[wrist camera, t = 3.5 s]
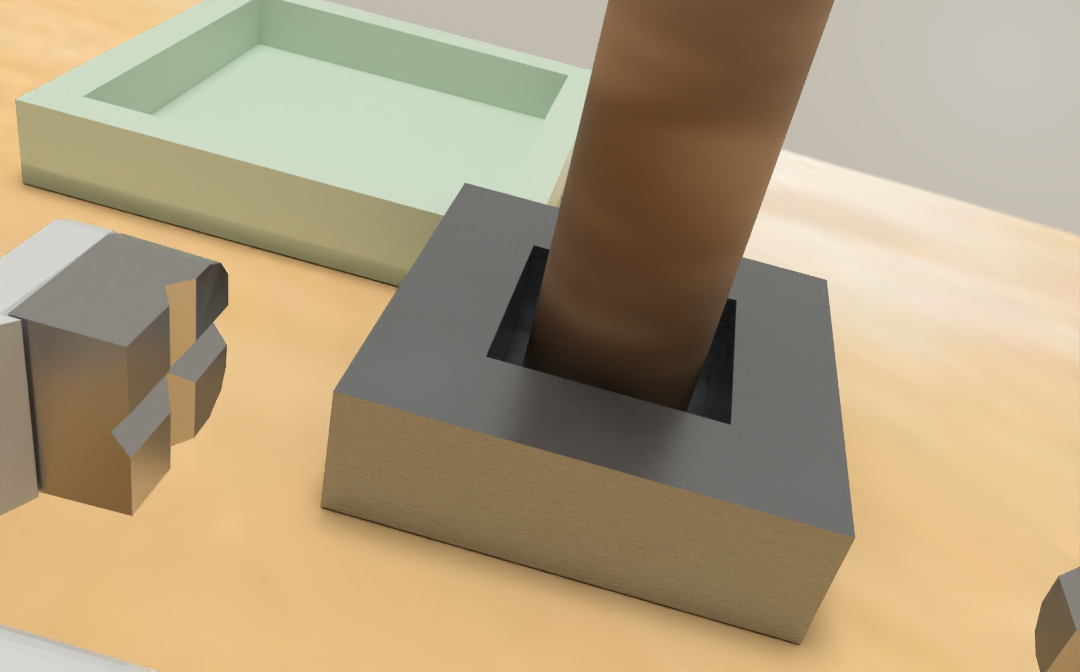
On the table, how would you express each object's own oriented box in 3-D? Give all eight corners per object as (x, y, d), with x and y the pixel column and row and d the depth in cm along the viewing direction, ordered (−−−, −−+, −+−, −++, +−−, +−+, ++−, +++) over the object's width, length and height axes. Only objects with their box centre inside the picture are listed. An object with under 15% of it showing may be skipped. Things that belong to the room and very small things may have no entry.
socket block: (320, 506, 21) (333, 390, 19) (448, 276, 29) (464, 182, 27) (799, 644, 20) (854, 537, 19) (789, 370, 29) (826, 280, 27)
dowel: (498, 439, 23) (702, -441, 14) (533, 344, 26) (714, -413, 17) (671, 488, 23) (988, -374, 14) (683, 386, 26) (944, -358, 17)
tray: (23, 182, 29) (15, 99, 27) (242, 42, 41) (244, -21, 39) (513, 317, 28) (531, 239, 27) (588, 134, 40) (603, 73, 39)
